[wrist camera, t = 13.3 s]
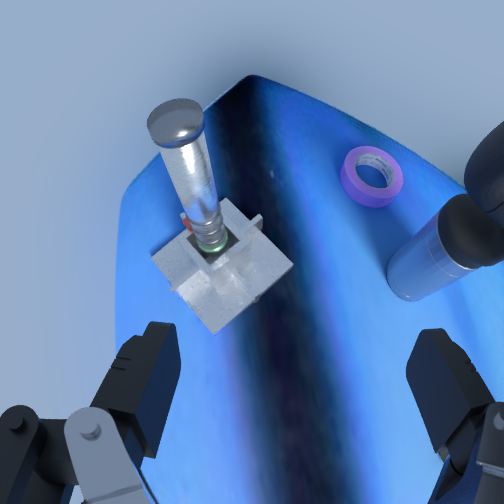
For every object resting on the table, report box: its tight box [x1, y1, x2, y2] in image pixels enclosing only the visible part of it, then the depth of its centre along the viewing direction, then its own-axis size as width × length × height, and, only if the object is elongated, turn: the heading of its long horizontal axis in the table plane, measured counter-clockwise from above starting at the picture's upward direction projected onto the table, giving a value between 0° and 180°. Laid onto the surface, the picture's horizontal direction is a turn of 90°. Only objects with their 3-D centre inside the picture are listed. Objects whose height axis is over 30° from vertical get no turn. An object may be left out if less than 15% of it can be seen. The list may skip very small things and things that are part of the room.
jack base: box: [151, 198, 294, 336], centre depth 44 cm, size 17×17×11 cm
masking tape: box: [340, 146, 403, 208], centre depth 53 cm, size 12×12×4 cm
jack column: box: [147, 99, 228, 257], centre depth 30 cm, size 4×4×23 cm
